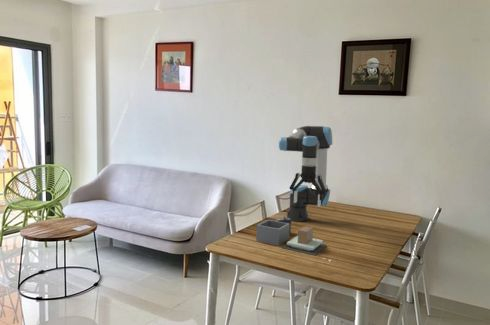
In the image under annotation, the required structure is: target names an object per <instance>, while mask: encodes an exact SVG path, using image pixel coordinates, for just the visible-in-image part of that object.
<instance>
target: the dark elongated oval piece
mask: <svg viewBox="0 0 490 325" xmlns="http://www.w3.org/2000/svg"><path fill="white" fill-rule="evenodd" d="M281 217H282V218H279V219H278V218H277V219H276V221H278V222H283V223H289V224H290V228H289V235H290V234H291V227H292V226H291V225H292V221H291V219H290V218H288V219H287V217H285V215H282V216H281Z"/></svg>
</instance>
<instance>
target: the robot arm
mask: <svg viewBox="0 0 490 325" xmlns="http://www.w3.org/2000/svg"><path fill="white" fill-rule="evenodd" d="M332 145H333V131H332V128H331V127H329V126H322V125H321V126H320V125H318V126H317V125H306V126H305V125H304V126H300V127H297V128H296V129H294V130H293V131H292V132H291V134H290V135H288V137H286V136H284V137H280V138H279V140H278V148H279V151H283V152H302V154H301V155H302V156H301V173H300V172H297V173H295V175H294V178H293V181H292V182H291V185H290V186H289V190H290V191H289V208H288V211H287V213H286V218H287V219H288V218H290V219H291V222H297V223H298V222H299V223H300V222H307V221H309V218H310V217H309V213H308V208H307V206H316V207H318V208H319V207H326V206H328V204H329V199H330V193H331V189H329V186H328V184H327V166H328V165H327V164H328V151H329V149H330V147H331V146H332ZM299 178H301V179H300V181H299V182H298V180H299ZM296 183H297V184H296ZM303 183H308V184H311V185H310V187H309V186H308V185H306V184H303Z"/></svg>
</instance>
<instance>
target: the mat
mask: <svg viewBox="0 0 490 325" xmlns="http://www.w3.org/2000/svg"><path fill="white" fill-rule="evenodd" d="M326 246H327V244H324V243H321V244H320V245H319V246H318V247H317V248H315V249H314V250H312V251H307V250H303V249H298V248H293V247H291V245H287V244H286V245H284V246H283V247H282V249H284V250H288V251H294V252H298V253H302V254H306V255H309V256H310V255H311V256H316V255H318V253H320V252H321V251H322V250H323V249H325V247H326Z"/></svg>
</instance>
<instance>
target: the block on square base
mask: <svg viewBox="0 0 490 325" xmlns="http://www.w3.org/2000/svg"><path fill="white" fill-rule="evenodd" d="M313 231H314V227H311V226H306V225H305V226H302V227H301V228H299V229H298V230H297V235H296V236H294V237H293V238H291V239H290V240H289V241H288V240H287V242H286V245H291V247H293V248H298V249H303V250H307V251H312V250H314V249H315V248H317V247H318V246H319V245H320V244H324V243H323V242H324V240H322V239H318V238H315V237H314V238H313V233H314V232H313Z"/></svg>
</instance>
